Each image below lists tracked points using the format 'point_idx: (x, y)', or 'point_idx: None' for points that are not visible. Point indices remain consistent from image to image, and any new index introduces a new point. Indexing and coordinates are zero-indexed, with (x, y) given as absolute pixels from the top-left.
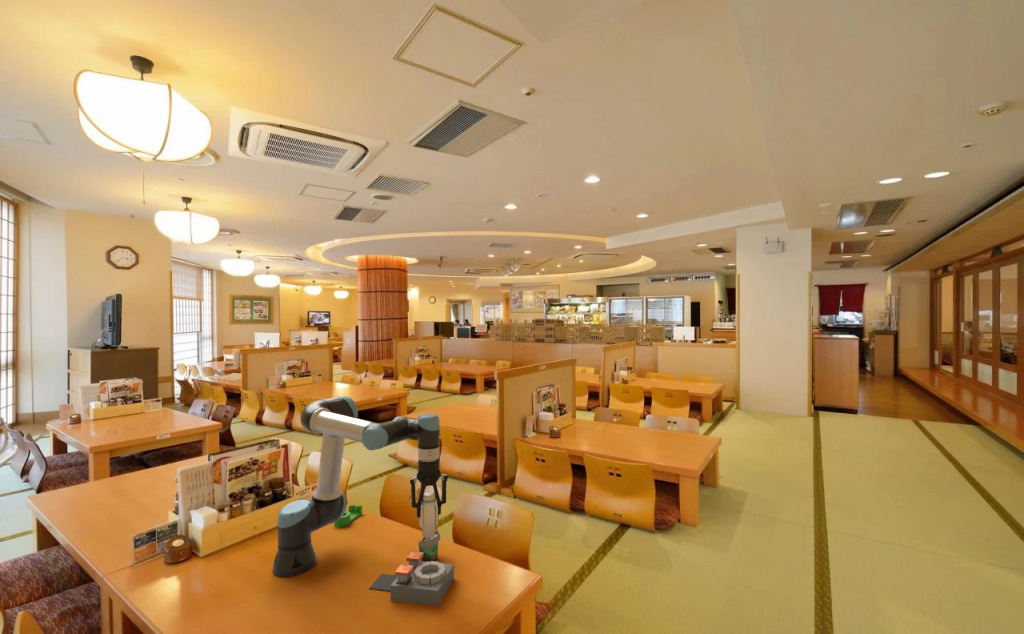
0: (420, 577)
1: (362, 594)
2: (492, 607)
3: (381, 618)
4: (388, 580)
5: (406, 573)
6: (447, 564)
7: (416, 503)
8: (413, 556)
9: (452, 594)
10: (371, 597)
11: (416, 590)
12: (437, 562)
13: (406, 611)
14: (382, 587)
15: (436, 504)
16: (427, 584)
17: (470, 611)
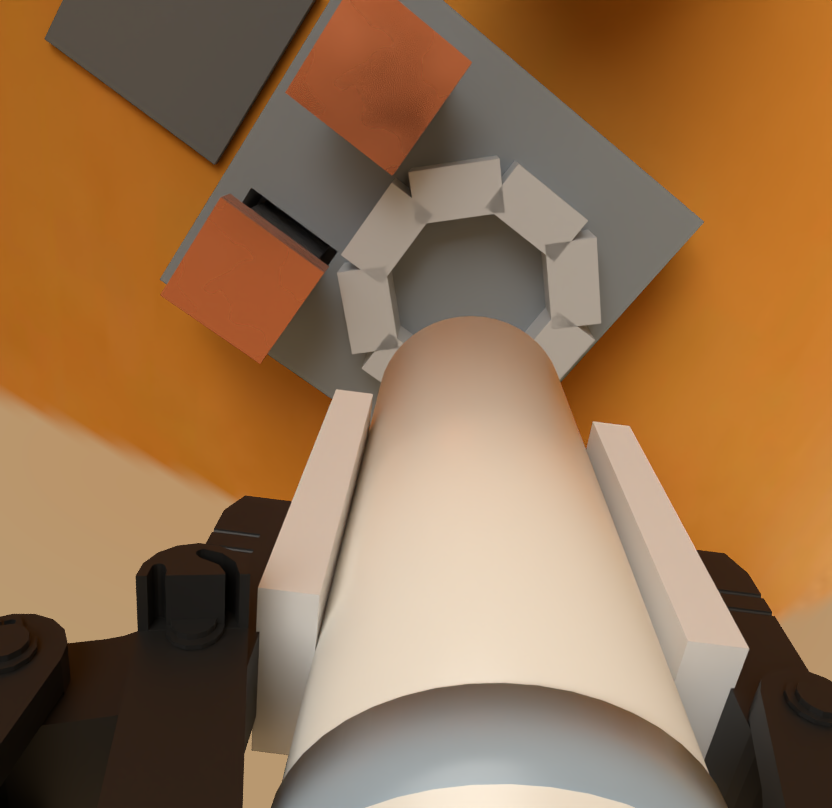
0: (370, 372)
1: (6, 91)
2: None
3: (138, 403)
4: (191, 1)
5: (252, 357)
6: (656, 196)
7: (100, 749)
8: (356, 101)
9: (583, 381)
10: (72, 161)
11: None
12: (564, 217)
13: (280, 408)
14: (143, 83)
15: (721, 682)
16: None
17: None
